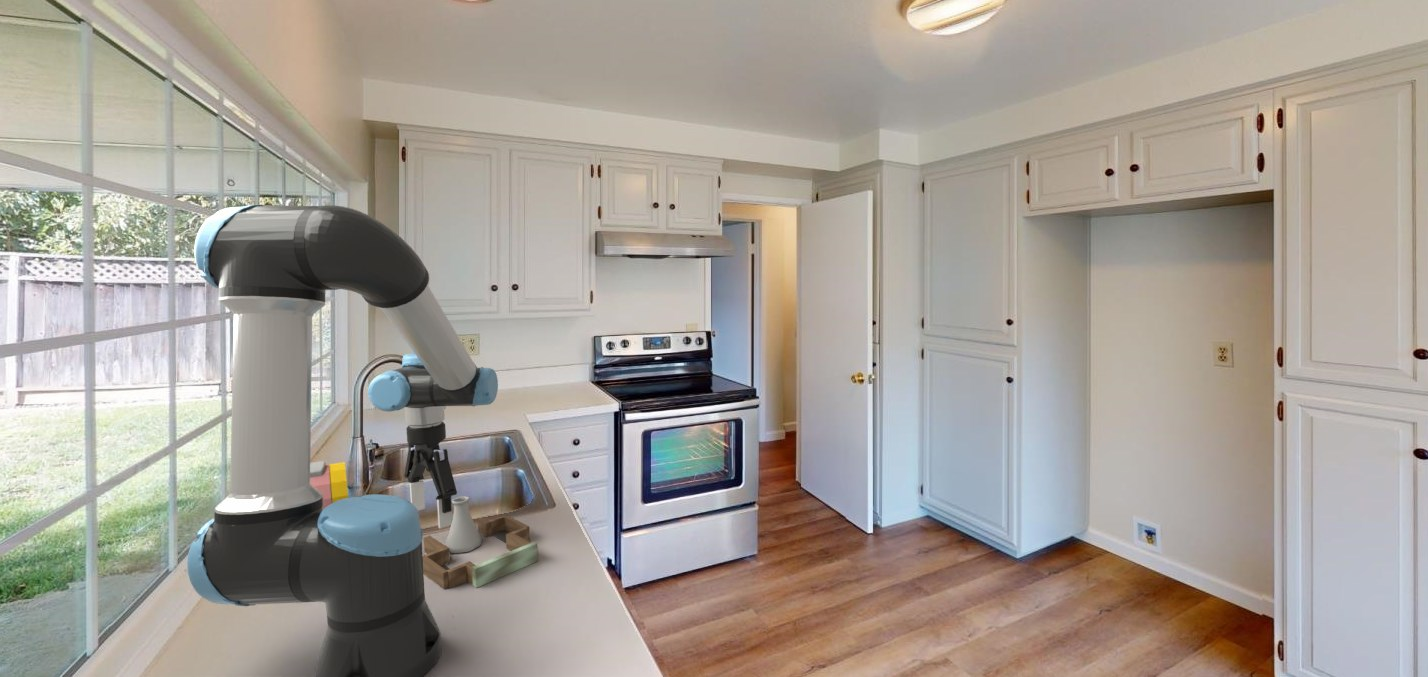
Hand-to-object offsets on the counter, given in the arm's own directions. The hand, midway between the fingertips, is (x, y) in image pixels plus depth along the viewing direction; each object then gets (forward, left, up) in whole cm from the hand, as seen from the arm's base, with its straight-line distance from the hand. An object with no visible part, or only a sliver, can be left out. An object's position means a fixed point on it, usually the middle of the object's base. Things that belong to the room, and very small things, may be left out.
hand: (431, 517), depth 122 cm
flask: (0, -14, -2) cm, 14 cm away
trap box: (0, -21, -2) cm, 21 cm away
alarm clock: (-18, +5, -2) cm, 19 cm away
